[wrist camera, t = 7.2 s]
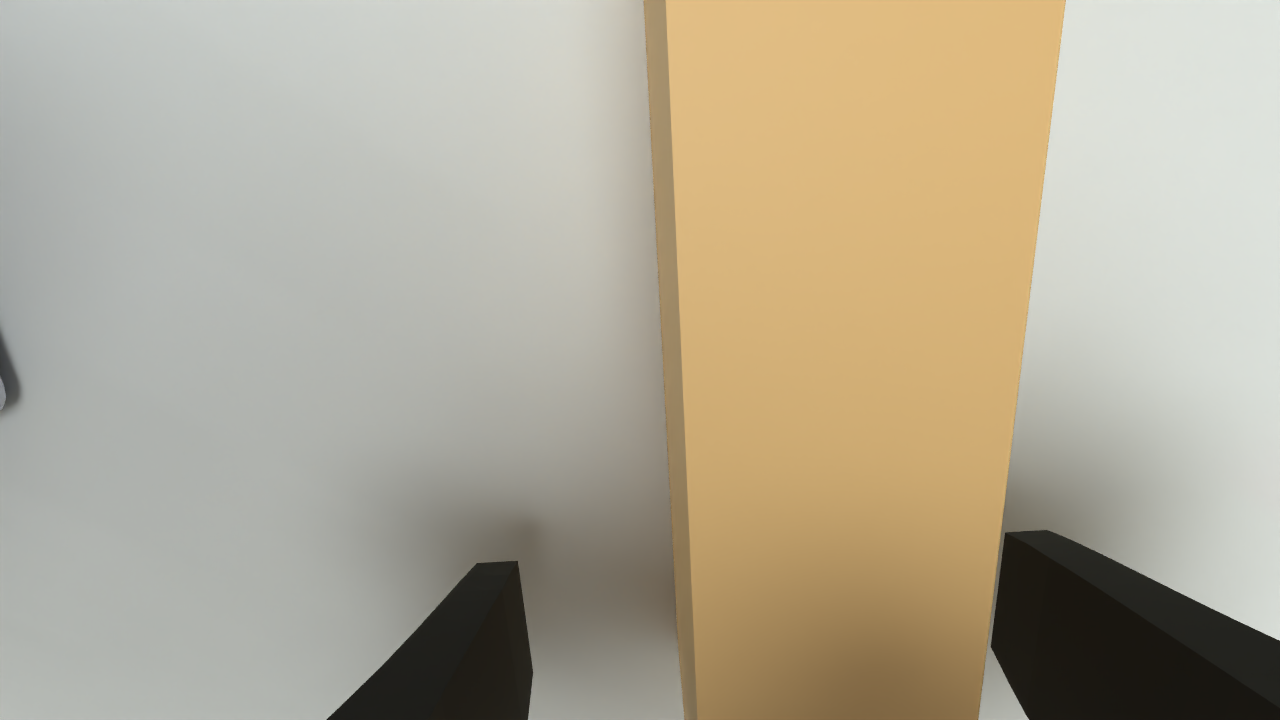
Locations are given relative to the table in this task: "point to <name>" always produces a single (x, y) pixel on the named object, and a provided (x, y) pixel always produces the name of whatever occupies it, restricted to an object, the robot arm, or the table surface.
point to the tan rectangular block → (843, 338)
